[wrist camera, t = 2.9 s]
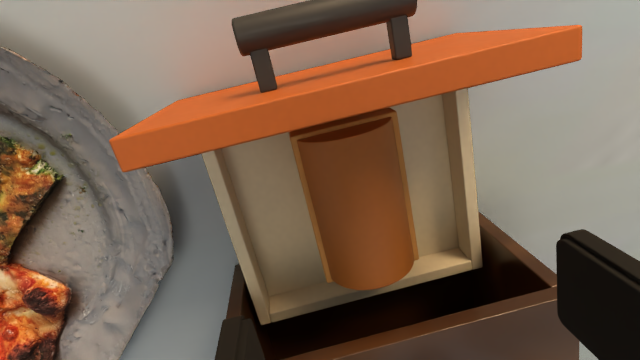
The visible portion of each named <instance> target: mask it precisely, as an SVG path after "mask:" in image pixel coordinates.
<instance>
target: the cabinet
mask: <svg viewBox="0 0 640 360" xmlns="http://www.w3.org/2000/svg"><path fill="white" fill-rule="evenodd" d="M478 217H479V228H480V240H481V252H482V263H483V267H482V268H478V269H474V270H470V271H466V272H462V273H458V274H455V275H451V276H447V277H443V278H439V279H436V280H432V281H428V282H424V283H420V284H417V285H413V286H409V287H405V288H401V289H398V290H394V291H390V292H386V293H382V294H379V295H375V296H371V297H367V298H363V299H360V300H356V301H352V302H348V303H344V304H341V305H337V306H333V307H329V308H325V309H322V310H318V311H314V312H310V313H306V314H303V315H299V316H295V317H291V318H287V319H284V320H280V321H276V322H272V321H271V323H268V324H264V325H261V324H260V322H259V319H258V316H257V313H256V310H255V307H254V304H253V301H252V299H251V296H250V293H249V290H248V287H247V284H246V281H245V278H244V275H243V272H242V270H241V267H240V264H239V265H236V266H235V270H234V275H233V281H232V287H231V293H230V298H229V304H228V310H227V316H226V319H228V318H232V317H236V316H240V315H243V316H244V317H245V319H249V318H250V319H251V320H252V322H253V325H254V328H255V330H256V333H257V336H258V339H259V342H260V345H261V348H262V351H263V354H264V357H265V360H579V340H578V339H577V338H576V337H575V336H574V335H573V334H572V333H571V332H570V331H569V330H568V329H567V328H566V327H565V326H564V325H563V324H562V323H561V321H560V319H559V317H558V313H557V275H556V274H555V273H554V272H553V271H552V270H550V269H549V268H548V267H547V266H545V265H544V264H543V263H542V262H540V261H539V260H538V259H537V258H535V257H534V256H533V255H532V254H530V253H529V252H528V251H527V250H526V249H524V248H523V247H522V246H521V245H519V244H518V243H517V242H516V241H514V240H513V239H512V238H511V237H509V236H508V235H507V234H506V233H504V232H503V231H502V230H501V229H499V228H498V227H497V226H496V225H495V224H493V223H492V222H491V221H490V220H488V219H487V218H486V217H485V216H483V215H482V214H481V213H480V212H478Z"/></svg>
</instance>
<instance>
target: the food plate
mask: <svg viewBox="0 0 640 360" xmlns="http://www.w3.org/2000/svg"><path fill="white" fill-rule="evenodd" d="M62 82H63V81H62V80H61V79H59V78H58V77H55V76H53V75H51V74H50V73H49V72H47V71H46V70H45V69H43V68H41V67H38V66H37V65H35V64H34V63H32V62H30V61H29V60H26V58H23V57H22V56H20V55H18V54H17V53H15V52H14V51H12V50H10V49H9V50H6V48H5V47H1V46H0V360H119V358H120V356H121V355H122V353H123V350H124V349H125V347H126V345H127V343H128V342H129V340H130V338H131V336H132V335H133V332H134V330H135V328H136V327H137V326H138V324H139V322H140V320H141V318H142V316H143V314H144V312H145V311H146V309H147V307H148V305H150V303H151V300H152V299H153V297H154V295H155V292H156V290H157V289H158V287H159V285H158V283H157V282H158V281H160V280H161V279H162V280H163V278H164V276H165V275H164V276H163V274H164V273H165V271H166V269H167V268H168V269H169V268H170V266H171V263H172V261H173V247H174V240H173V236H172V232H173V230H172V223H171V222H170V221H171V220H169V219H170V215H169V212H168V208H167V205H166V203H165V201H164V199H163V197H162V195H161V192H160V189H159V188H158V186H157V185H156V184H155V183H153V180H151V179H152V178H151V176H150V175H149V173H148V172H147V171H146V169H147V168H141V169H137V170H133V171H129V172H122V170H121V168H120V166H119V163H118V161H117V159H116V157H115V154H114V152H113V150H112V147H111V145H110V143H109V140H110V139H111V138H113V137H115V136H117V135H118V134H119V133H118V132H117V129H116V128H114V127H113V126H112V125H110V122H109V121H107V120H106V118H104V116H103V115H102V114H101V113H100V112H99V111H97V110H96V109H94V108H93V107H91V106H90V105H89V103H87V102H86V100H85V99H84V98H82V97H81V96H79V95H77V93H75V92H74V91H73V90H72V89H70V87H69V85H65V84H64V83H65V82H64V83H62ZM168 269H167V271H168ZM167 271H166V272H167ZM165 274H166V273H165ZM160 283H161V282H160Z"/></svg>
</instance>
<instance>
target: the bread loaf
mask: <svg viewBox="0 0 640 360" xmlns="http://www.w3.org/2000/svg"><path fill="white" fill-rule="evenodd" d="M289 137H290V142H291V145H292V149H293V153H294V157H295V161H296V165H297V169H298V173H299V177H300V180H301V184H302V188H303V192H304V196H305V200H306V204H307V208H308V211H309V215H310V219H311V223H312V227H313V231H314V235H315V239H316V243H317V246H318V250H319V254H320V258H321V262H322V266H323V270H324V274H325V277H326V281H327V283H330V282H335V283H337V284H338V285H340V286H342V287H345V288H349V289H354V290H372V289H378V288H382V287H386V286H389V285H391V284H393V283H395V282H397V281H399V280H400V279H402V278H403V277H405V276H406V275H407V274H408V273H409V272H410V270H411V269H412V266H413V264H414V261H415V260H418V259H419V254H418V247H417V241H416V234H415V228H414V221H413V215H412V208H411V201H410V195H409V188H408V182H407V175H406V169H405V162H404V155H403V149H402V142H401V136H400V129H399V123H398V116H397V112H396V111H395V110H393V109H391V108H390V107H389V108H384V109H380V110H376V111H372V112H368V113H364V114H360V115H356V116H352V117H348V118H344V119H340V120H336V121H332V122H328V123H324V124H320V125H315V126H311V127H307V128H303V129H299V130H295V131H291V132H289Z"/></svg>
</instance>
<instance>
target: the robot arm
mask: <svg viewBox="0 0 640 360" xmlns="http://www.w3.org/2000/svg"><path fill="white" fill-rule="evenodd" d="M556 252H557V313H558V317H559V319H560V321H561V323H562V324H563V325H564V326H565V327H566V328H567V329H568V330H569V331H570V332H571V333H572V334H573V335H574V336H575V337H576V338H577V339H578V340H579V341H580V342H581V343H582V344H583V345H584V346H585V347H586V348H587V349H588V350H590V351H591V352H592V353H593V354H594V355H595V356H596V357H597V358H598V359H599V360H640V261H638V260H636V259H635V258H633V257H631V256H629V255H628V254H626V253H624V252H623V251H621V250H619V249H617V248H616V247H614V246H612V245H611V244H609V243H607V242H605V241H604V240H602V239H600V238H599V237H597V236H595V235H594V234H592V233H590V232H588V231H586V230H577V231H573V232H569V233H565V234H563V235H562V236H561V238H560V240H559V241H558V242H557V245H556ZM215 360H265V357H264V354H263V351H262V348H261V345H260V342H259V339H258V336H257V333H256V330H255V328H254V325H253V322H252V320H251V319H250V318H249V319H245V317H244V316H243V315H240V316H236V317H232V318H228V319H224V320H223V322H222V327H221V332H220V337H219V341H218V346H217V351H216V356H215Z"/></svg>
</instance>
